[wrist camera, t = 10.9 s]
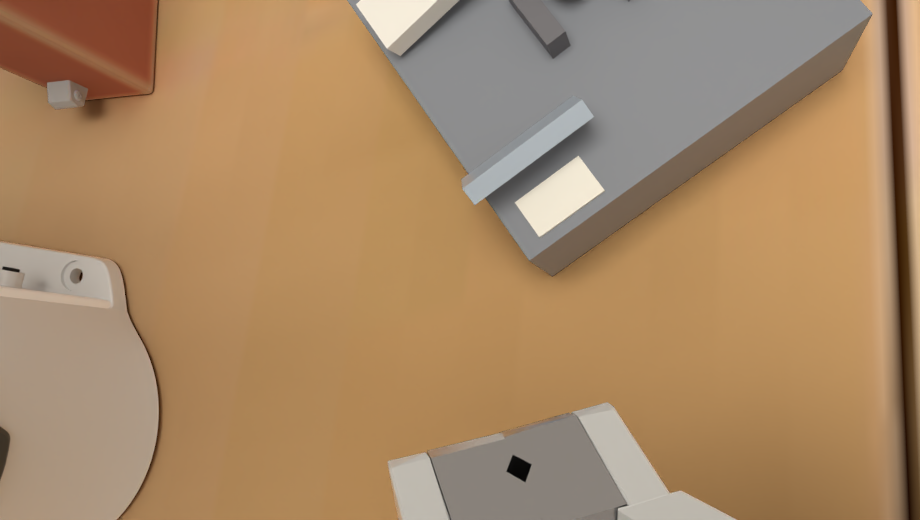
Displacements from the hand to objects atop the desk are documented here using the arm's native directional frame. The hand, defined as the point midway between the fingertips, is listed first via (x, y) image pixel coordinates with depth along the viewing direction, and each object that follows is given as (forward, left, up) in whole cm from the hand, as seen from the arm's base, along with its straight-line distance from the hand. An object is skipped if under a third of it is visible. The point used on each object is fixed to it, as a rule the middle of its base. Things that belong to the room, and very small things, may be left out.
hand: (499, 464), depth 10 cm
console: (-7, +15, -27) cm, 32 cm away
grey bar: (-7, +8, -21) cm, 23 cm away
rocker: (-13, +13, -20) cm, 27 cm away
